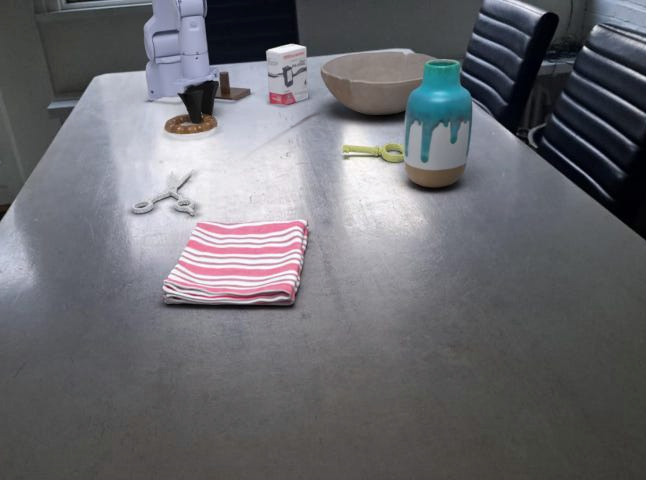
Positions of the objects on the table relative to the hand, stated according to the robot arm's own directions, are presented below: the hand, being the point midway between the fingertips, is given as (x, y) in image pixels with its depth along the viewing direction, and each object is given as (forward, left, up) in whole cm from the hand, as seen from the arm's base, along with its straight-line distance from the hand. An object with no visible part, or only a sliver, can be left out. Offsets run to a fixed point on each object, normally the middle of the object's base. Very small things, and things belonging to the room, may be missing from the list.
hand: (202, 119), depth 149 cm
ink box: (+9, +24, -2) cm, 25 cm away
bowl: (+33, +22, -2) cm, 40 cm away
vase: (+57, -16, -2) cm, 59 cm away
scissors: (+17, -35, -1) cm, 39 cm away
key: (+43, -6, -2) cm, 43 cm away
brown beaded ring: (0, -4, 0) cm, 4 cm away
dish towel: (+42, -54, -2) cm, 69 cm away
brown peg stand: (-8, +23, -1) cm, 24 cm away
